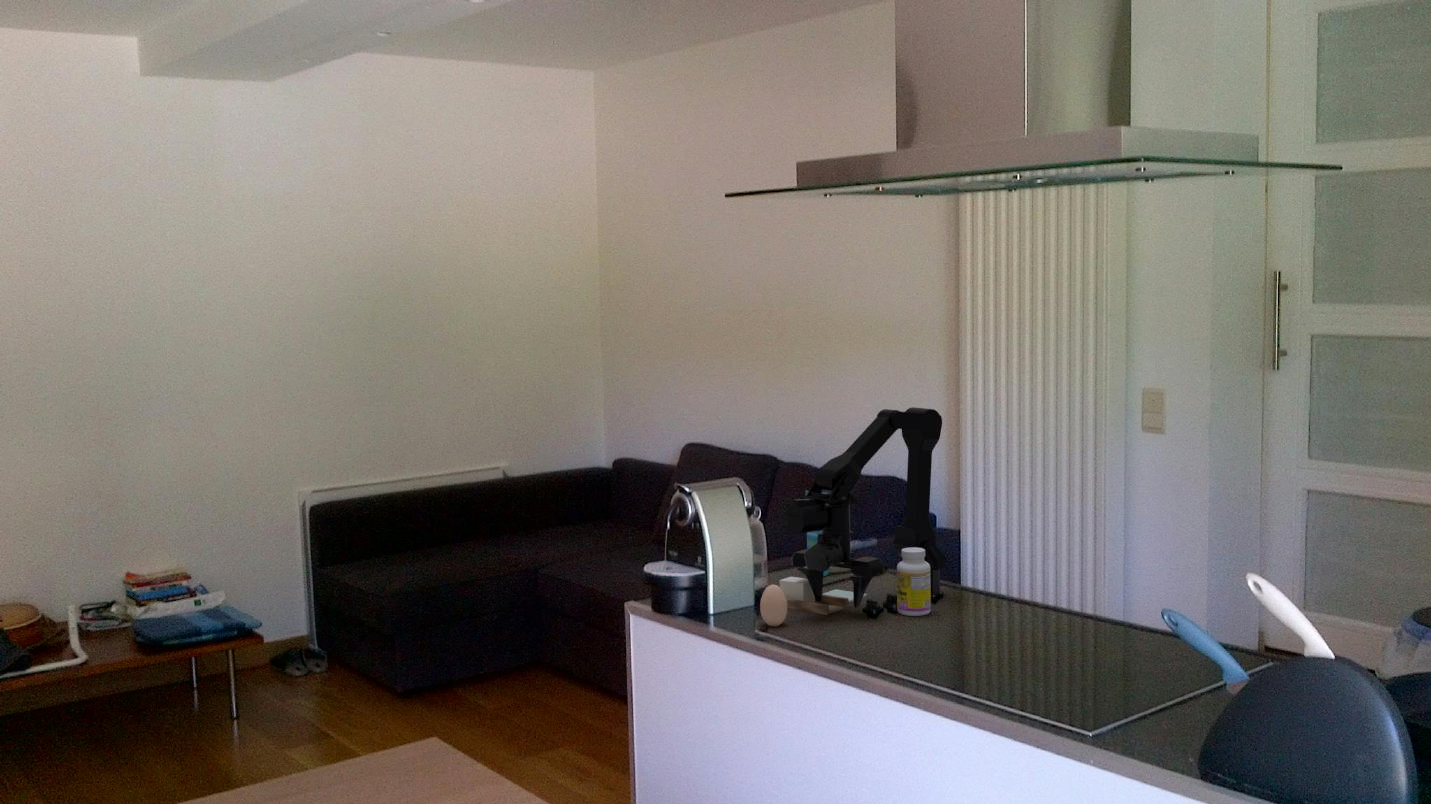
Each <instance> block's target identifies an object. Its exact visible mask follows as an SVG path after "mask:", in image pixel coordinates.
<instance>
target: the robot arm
mask: <svg viewBox="0 0 1431 804" xmlns="http://www.w3.org/2000/svg"><path fill="white" fill-rule="evenodd" d="M942 428H943V417H942V416H941V415H940V413H939V412H938V410H937V409H932V408H923V407H909V408H908V409H906V410H905V411H900V410H897V409H886V408H885V409H884V408H883V409H882V410H880V411H879V412H877V415H876V417H875V419H873V420H872V422H871V423H870V424H868V426H867V427H866V428H865V429H864V431H862V433H860V434H859V436H858V437H857V438H856V439H855V440H854V441H853V442H852V443H851V445H850V446H849V447H847V449H846V450H845V451H844V452H843V453H841V454H839V455H837V456H834V457H833V458H831V459H830V460H828V461H827V462H826V463H824V464H823V465H821V466H820V467H819V468H818V469H817V471H816V474H815V478H814V480H813V483H812V484H811V486H810V488H809V490H807V491H808V493H807V495H806V494H805V498H801V499H800V498H794V499H793V500H792V505H791V506H790V507H789V508H788V510H787V514H786V516H785V517H786V518H785V519H786V525H787V527H788V530H789V531H790V532H791V533H792V534H794V535H801V534H807V533H808V532H814V531H820V530H822V533H820V534H818V537H817V544H816V545H814V546H812V547H811V548H810V549H807V548H806V549H801V550H799V551H798V550H797V551H795V552H794V553H793V555H792V556H791V566H792V567H795V568H796V569H797V571H798V572H801V573H802V574H803V575H804V576H805V578H806V579H808V581H809V583H810V586H811V588H812V591H813V594H814V596H815V599H816V601H817V602H819V601H821V597H822V594H823V586H824V576H823V574H824V571H827V570H828V569H830V567H833V568H834V567H835V568H842V569H850V572H851V573H852V574H853V575H850V577H849V578H850V579H851V581H852V584H853V586H852V587H853V591H852V592H853V600H854V601H853V607H854V608H855V609H857V608H859V607H860V604H861V603H862V600H863V598H864V597H863V596H864V594H866V591H867V589H868V587H869V585H870V583H871V581H872V579H873V578H874V577H876V576H878V574H880V573H883V572H884V563H883V561H882V560H881V558H880V557H873V556H866V555H865V556H862V557H859V558H856V559H852V558H855V551H851V550H852V549H851V548H852V547H851V539H852V538H854V537H855V531H851V508H850V507H851V506H854V505H858V504H859V500H858V499H857V497H854V495H853V494H852V493H853V491H854V489H855V488H856V486H857V484H858V483H859V481H860V479H861V475H862V470H863V469H864V467H865V466H866V465H867V464H868V463H869V462H870V460H871V459H872V458H873V457H874V456H875V455H876V454H877V453H878V452H879V451H880V450H881V448H882V447H883V446H884V445H885V444H886V443H887V442H888V440H889V439H890V438H891V437H892V436H894V434H895V433H896V432H897V430H901V437H902V439H903V442H904V443H905V445H906V448H907V452H908V453H907V471H906V473H907V474H906V494H905V495H906V496H905V513H904V514H905V516H904V519H903V521H902V522H901V524H900V525H897V524H896V525H894V529H893V531H894V540H893V543H892V545H894V546H895V548H894V549H895V552H896V554H898V556H899V559H900V562H901V561H903V557H902V555H901V554H902V549H904V548H911V547H916V548H923V549H925V557H924V561H926V562H928V563H929V565H930V585H931V595H932V594H936V593H942V594H941V595H943V594H945V591H944V590H941V572H940V571H941V569H945V567H946V564H947V560H948V558H947V557H946V555H945V554H944V553H943V552H942V551H941V549H939V548H938V546H937V540H936V538H937V537H936V532H935V530H934V527H933V525H932V523H931V521H930V507H931V506H930V505H931V504H930V503H931V482H932V481H931V479H932V465H933V464H932V460H933V459H932V458H933V451H934V449H935V447H936V445H937V444H938V442H939V441H940V438H941V435H942V434H941V433H942ZM823 493H827V494H823Z"/></svg>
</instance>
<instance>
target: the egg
mask: <svg viewBox="0 0 1431 804" xmlns="http://www.w3.org/2000/svg"><path fill="white" fill-rule="evenodd" d="M761 595H762V596H761V598H760V604H759V607H760V608H759V609H760V614H761V617H762V619H763V621H764V622H765V624H766V625H768V626H769V627H778V626H780V625H782V623H783V622H784V621H785V620H786V617H787V615H788V614H787V613H788V608H787V600H786V597H785V595H784V593H783V591H782V589H781V588H780V585H777V584H770V585H768V586H766V588H765V589H764V590H763V593H762V594H761Z"/></svg>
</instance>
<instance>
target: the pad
mask: <svg viewBox="0 0 1431 804" xmlns="http://www.w3.org/2000/svg"><path fill="white" fill-rule="evenodd" d="M822 594H824V595H831V596H837V597H843V598H848V599H849V603H851V602H854V600H853V591H850V590H849V591H848V590H844V589H836V588H835V589H832V590H830V591H826V592H824V593H823V592H822ZM867 596H868V594H867V593H864V596H863V598H865V597H867Z"/></svg>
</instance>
